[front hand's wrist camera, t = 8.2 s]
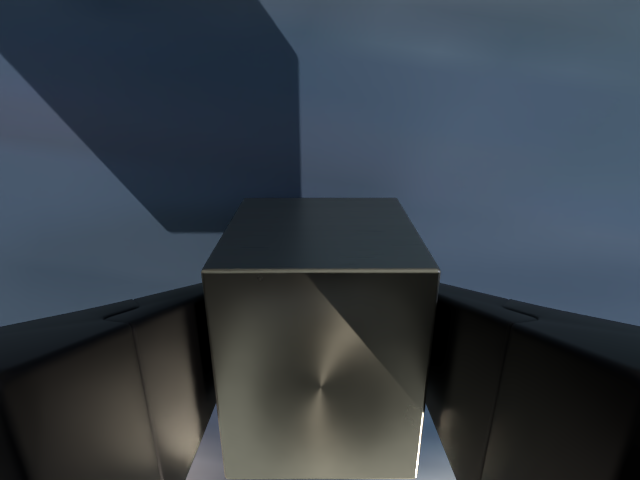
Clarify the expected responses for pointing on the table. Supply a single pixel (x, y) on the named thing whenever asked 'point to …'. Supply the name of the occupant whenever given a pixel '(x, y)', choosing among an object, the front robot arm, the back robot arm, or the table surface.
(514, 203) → the table surface
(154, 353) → the front robot arm
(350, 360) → the grey metallic block
